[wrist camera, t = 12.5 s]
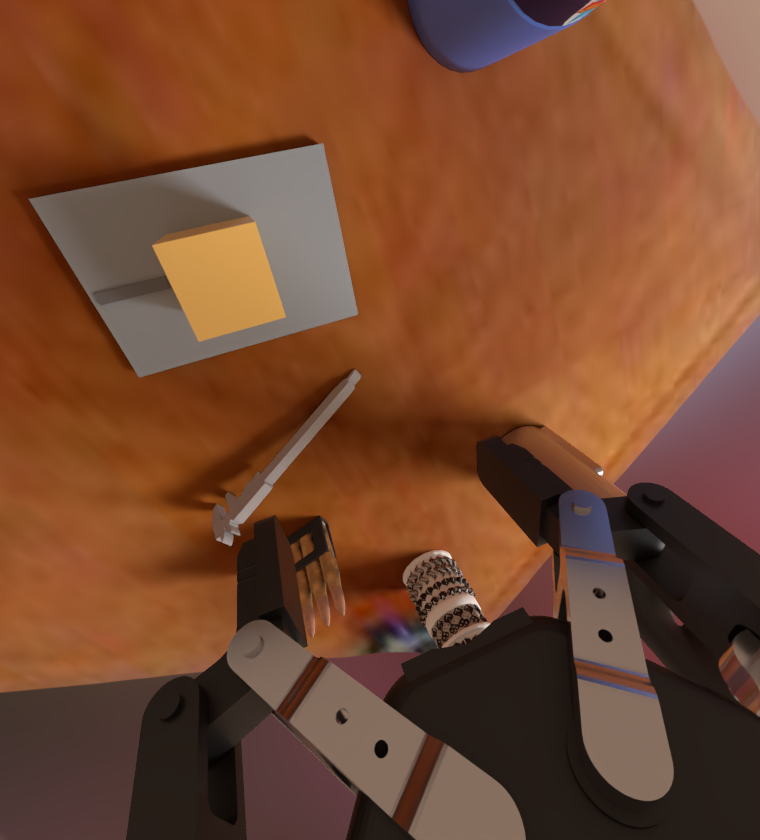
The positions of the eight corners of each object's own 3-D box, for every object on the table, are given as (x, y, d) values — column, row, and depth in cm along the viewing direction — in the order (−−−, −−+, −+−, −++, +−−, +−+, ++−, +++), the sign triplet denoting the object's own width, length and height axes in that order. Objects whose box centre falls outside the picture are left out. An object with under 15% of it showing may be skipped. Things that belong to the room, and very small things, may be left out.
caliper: (221, 508, 39) (221, 556, 34) (212, 504, 38) (211, 552, 33) (360, 373, 36) (382, 403, 31) (353, 367, 36) (374, 396, 31)
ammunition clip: (256, 572, 45) (265, 676, 35) (246, 566, 44) (252, 672, 34) (328, 522, 45) (356, 613, 35) (319, 515, 44) (346, 606, 34)
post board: (320, 144, 26) (340, 134, 21) (354, 311, 33) (375, 330, 28) (35, 198, 22) (-12, 200, 18) (141, 372, 29) (126, 405, 25)
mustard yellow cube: (249, 215, 26) (255, 221, 21) (275, 296, 29) (286, 317, 24) (165, 234, 24) (151, 245, 20) (202, 315, 28) (198, 341, 23)
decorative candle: (463, 561, 60) (583, 747, 40) (418, 595, 60) (515, 796, 40) (437, 539, 54) (562, 742, 34) (389, 577, 55) (483, 798, 35)
